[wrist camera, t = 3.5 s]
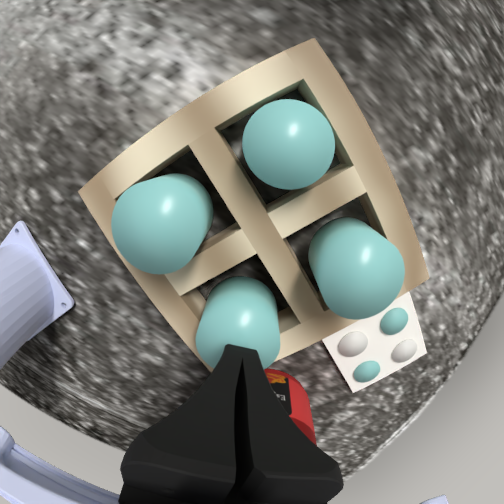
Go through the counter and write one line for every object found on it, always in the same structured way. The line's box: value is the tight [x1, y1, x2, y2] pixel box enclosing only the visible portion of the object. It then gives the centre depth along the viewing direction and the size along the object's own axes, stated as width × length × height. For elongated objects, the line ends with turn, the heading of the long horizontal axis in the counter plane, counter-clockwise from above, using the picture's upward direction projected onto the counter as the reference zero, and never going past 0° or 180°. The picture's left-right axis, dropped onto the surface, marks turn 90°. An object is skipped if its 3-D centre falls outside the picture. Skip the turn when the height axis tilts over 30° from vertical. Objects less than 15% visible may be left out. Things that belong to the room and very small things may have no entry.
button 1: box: [196, 276, 280, 369], centre depth 15 cm, size 4×4×4 cm
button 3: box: [308, 217, 405, 320], centre depth 14 cm, size 4×4×4 cm
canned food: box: [264, 369, 317, 446], centre depth 17 cm, size 8×8×11 cm
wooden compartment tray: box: [78, 38, 429, 372], centre depth 16 cm, size 15×15×2 cm
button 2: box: [111, 173, 214, 274], centre depth 13 cm, size 4×4×4 cm
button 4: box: [242, 99, 335, 190], centre depth 14 cm, size 4×4×4 cm
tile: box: [322, 292, 427, 393], centre depth 20 cm, size 7×7×1 cm
